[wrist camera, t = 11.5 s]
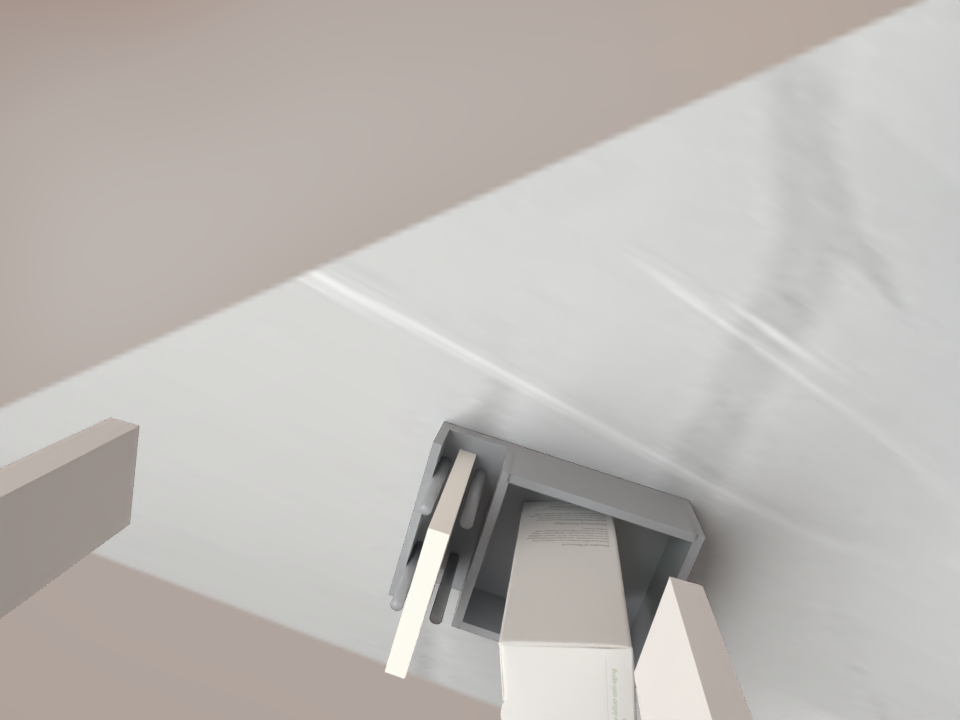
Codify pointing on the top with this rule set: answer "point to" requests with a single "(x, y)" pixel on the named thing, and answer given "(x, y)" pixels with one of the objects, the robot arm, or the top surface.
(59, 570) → the robot arm
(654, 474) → the top surface
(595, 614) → the skincare box
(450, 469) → the grey open box
